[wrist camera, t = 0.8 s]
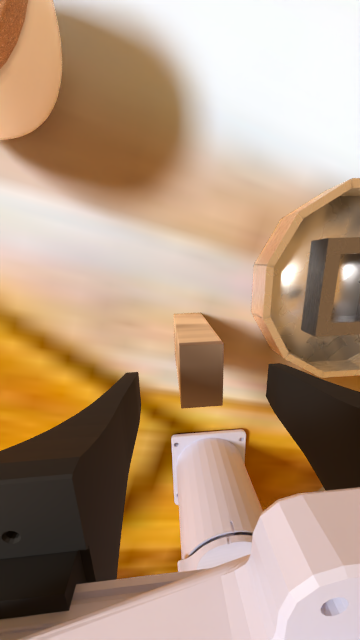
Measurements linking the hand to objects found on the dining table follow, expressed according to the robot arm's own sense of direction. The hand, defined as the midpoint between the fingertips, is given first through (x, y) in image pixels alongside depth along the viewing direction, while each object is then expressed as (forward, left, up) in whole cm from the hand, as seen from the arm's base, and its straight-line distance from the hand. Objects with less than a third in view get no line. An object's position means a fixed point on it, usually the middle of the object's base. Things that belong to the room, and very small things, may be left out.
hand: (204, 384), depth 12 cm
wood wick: (0, 0, -9) cm, 9 cm away
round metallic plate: (+4, -14, -9) cm, 17 cm away
